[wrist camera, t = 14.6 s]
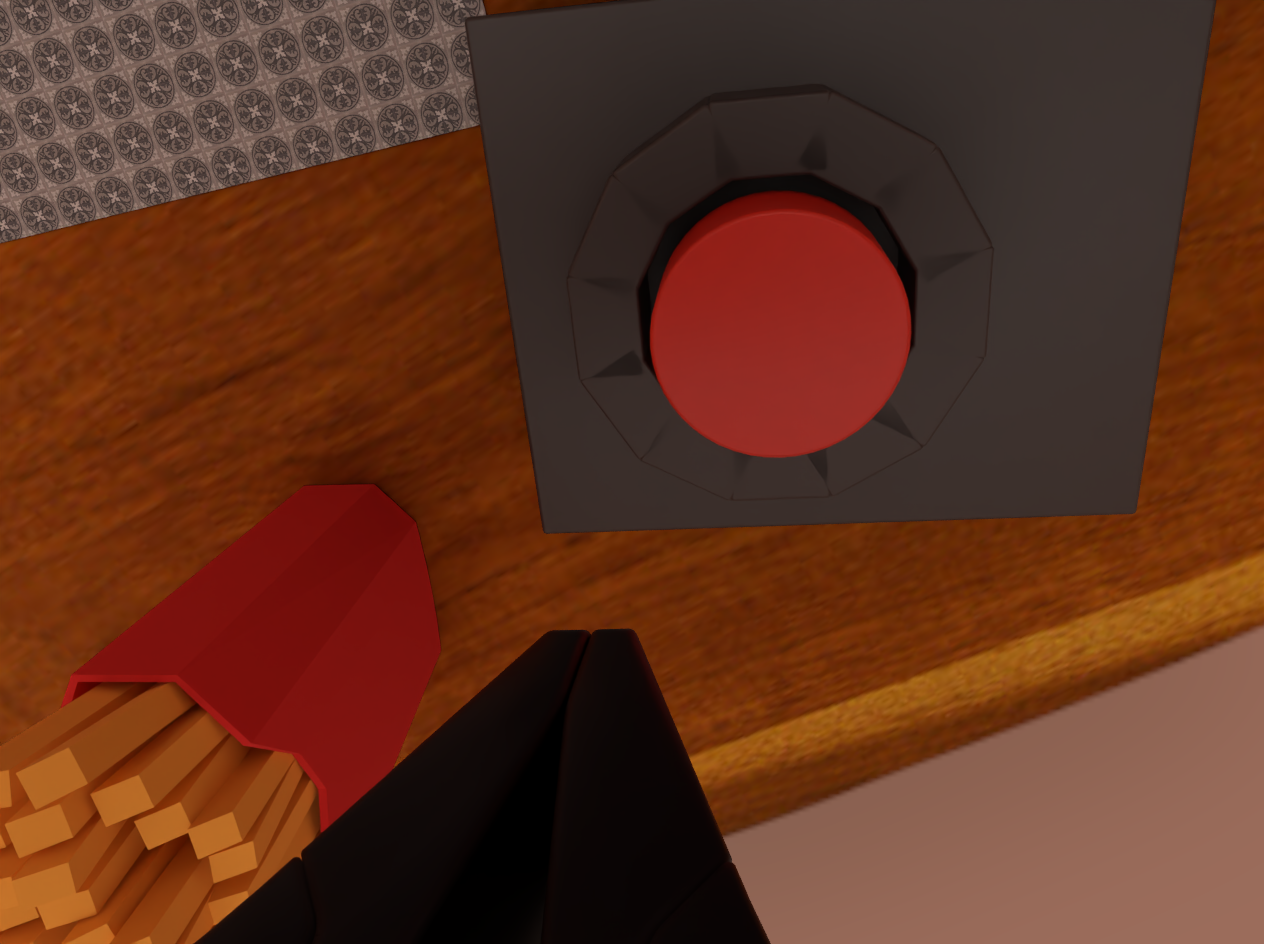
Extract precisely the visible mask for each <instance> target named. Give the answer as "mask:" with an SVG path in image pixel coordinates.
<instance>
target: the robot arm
mask: <svg viewBox="0 0 1264 944" xmlns="http://www.w3.org/2000/svg"><path fill="white" fill-rule="evenodd" d="M301 858H302V860H301ZM301 858H299V857H294V858H292V859H291V860H290V861H289V862H288V863H287V864H286V865H284V866H283V867H282V868H281V869H280V870H279V871H278V872H277V873H275V874H274V875H273V876H272V877H271V878H270V879H269V880H268V881H267V882H265V883H264V884H263V885H262V886H261V887H260V888H259V889H257V890H256V891H255V892H254V893H253V894H252V895H250V896H249V897H248V898H247V899H246V900H245V901H243V902H242V903H241V904H240V905H239V906H238V907H236V908H235V909H234V910H233V911H232V912H230V913H229V914H228V915H227V916H226V917H225V918H223V919H222V920H221V921H220V922H219V923H218V924H216V925H215V926H214V927H213V928H212V929H211V930H209V931H208V932H207V933H206V934H205V935H204V936H202V937H201V938H200V939H198V940H197V941H196V942H195V943H193V944H771V943H770V941H769V939H768V937H767V935H766V933H765V931H764V929H763V927H762V924H761V923H760V920H759V918H758V916H757V914H756V912H755V910H754V908H753V905H752V904H751V901H750V899H749V897H748V894H747V892H746V890H745V887H744V885H743V883H742V880H741V878H740V876H739V873H738V871H737V869H736V866H735V865H734V864H733V863H732V858H731V856H730V854H729V851H728V849H727V846H726V844H725V842H724V839H723V837H722V834H721V832H720V830H719V827H718V825H717V823H716V820H715V818H714V816H713V813H712V811H711V808H710V806H709V804H708V801H707V799H706V797H705V794H704V792H703V790H702V787H701V785H700V782H699V780H698V778H697V775H696V773H695V771H694V768H693V766H692V764H691V761H690V759H689V756H688V754H687V752H686V749H685V747H684V745H683V742H682V740H681V738H680V735H679V733H678V730H677V728H676V726H675V723H674V721H673V719H672V716H671V714H670V712H669V709H668V707H667V704H666V702H665V700H664V697H663V695H662V693H661V690H660V688H659V686H658V683H657V681H656V678H655V676H654V674H653V671H652V669H651V667H650V664H649V662H648V660H647V657H646V655H645V652H644V650H643V648H642V645H641V643H640V641H639V638H638V636H637V634H636V633H635V631H634V630H632V629H599V630H595V631H594V632H593V633H592V634H590V633H589V632H588V631H587V630H553V631H549V632H547V633H546V634H544V635H543V636H542V637H541V638H540V639H538V640H537V641H536V642H535V643H534V644H533V645H532V646H531V647H530V648H528V649H527V650H526V651H525V652H524V653H523V654H522V655H521V656H519V657H518V658H517V659H516V660H515V661H514V662H513V663H512V664H510V665H509V666H508V667H507V668H506V669H505V670H504V671H503V672H501V673H500V674H499V675H498V676H497V677H496V678H495V679H494V680H492V681H491V682H490V683H489V684H488V685H487V686H486V687H485V688H484V689H482V690H481V691H480V692H479V693H478V694H477V695H476V696H475V697H473V698H472V699H471V700H470V701H469V702H468V703H467V704H466V705H464V706H463V707H462V708H461V709H460V710H459V711H458V712H457V713H455V714H454V715H453V716H452V717H451V718H450V719H449V720H448V721H446V722H445V723H444V724H443V725H442V726H441V727H440V728H439V729H438V730H436V731H435V732H434V733H433V734H432V735H431V736H430V737H429V738H427V739H426V740H425V741H424V742H423V743H422V744H421V745H420V746H418V747H417V748H416V749H415V750H414V751H413V752H412V753H411V754H409V755H408V756H407V757H406V758H405V759H404V760H403V761H402V762H400V763H399V764H398V765H397V766H396V767H395V768H394V769H393V770H392V771H390V772H389V773H388V774H387V775H386V776H385V777H384V778H383V779H381V780H380V781H379V782H378V783H377V784H376V785H375V786H374V787H372V788H371V789H370V790H369V791H368V792H367V793H366V794H365V795H363V796H362V797H361V798H360V799H359V800H358V801H357V802H356V803H354V804H353V805H352V806H351V807H350V808H349V809H348V810H347V811H346V812H344V813H343V814H342V815H341V816H340V817H339V818H338V819H337V820H335V821H334V822H333V823H332V824H331V825H330V826H329V827H328V828H326V829H325V830H324V831H323V832H322V833H321V834H320V835H319V836H317V837H316V838H315V839H314V840H313V841H312V842H311V843H310V844H308V845H307V846H306V847H305V848H304V849H303V850H302V852H301Z"/></svg>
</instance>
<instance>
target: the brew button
mask: <svg viewBox="0 0 1264 944" xmlns="http://www.w3.org/2000/svg"><path fill="white" fill-rule="evenodd" d="M910 341H911V314H910V308H909V302H908V298H907V295H906V292H905V289H904V286H903V283H902V281H901V279H900V277H899V275H898V273H897V271H896V269H895V267H894V266H893V264H892V263H891V261H890V260H889V258H888V257H887V255H886V254H885V252H884V251H883V249H882V247H881V246H880V244H879V243H878V242H877V240H876V239H875V237H874V236H873V234H872V233H871V232H870V231H869V230H868V229H867V227H866V226H865V225H864V224H863V223H862V222H861V221H860V220H859V219H857V218H856V217H855V216H854V215H852V214H851V213H850V212H849V211H847V210H846V209H844V208H842V207H840V206H839V205H837V204H835V203H834V202H831V201H829V200H826V199H824V198H822V197H819V196H815V195H811V194H808V193H804V192H796V191H788V190H784V191H765V192H759V193H753V194H750V195H746V196H743V197H739V198H737V199H734V200H732V201H730V202H727V203H725V204H723V205H721V206H720V207H718V208H716V209H715V210H713V211H711V212H710V213H708V214H707V215H706V216H705V217H703V218H702V219H701V220H700V221H698V222H697V223H696V224H695V225H694V226H693V227H692V228H691V229H690V230H689V231H688V232H687V233H686V234H685V236H684V237H683V238H682V240H681V241H680V242H679V244H678V245H677V246H676V248H675V250H674V252H673V253H672V255H671V257H670V259H669V261H668V263H667V266H666V268H665V271H664V273H663V276H662V279H661V283H660V286H659V290H658V293H657V297H656V300H655V304H654V308H653V312H652V316H651V325H650V351H651V357H652V363H653V367H654V370H655V373H656V377H657V380H658V382H659V384H660V386H661V388H662V391H663V393H664V394H665V396H666V398H667V399H668V401H669V402H670V404H671V406H672V407H673V408H674V409H675V411H676V412H677V413H678V414H679V415H680V417H681V418H682V419H683V420H684V421H685V422H686V423H688V424H689V425H690V426H691V427H692V428H693V429H694V430H696V431H697V432H698V433H700V434H701V435H703V436H704V437H705V438H707V439H709V440H711V441H713V442H714V443H716V444H718V445H720V446H723V447H725V448H728V449H730V450H733V451H736V452H740V453H743V454H747V455H752V456H760V457H777V458H782V457H792V456H800V455H804V454H809V453H813V452H816V451H819V450H822V449H825V448H828V447H830V446H832V445H834V444H836V443H838V442H840V441H842V440H844V439H846V438H847V437H849V436H850V435H852V434H854V433H855V432H857V431H858V430H859V429H860V428H862V427H863V426H864V425H865V424H866V423H868V422H869V421H870V420H871V419H872V418H873V417H874V416H875V415H876V414H877V413H878V412H879V411H880V410H881V409H882V407H883V406H884V405H885V403H886V402H887V400H888V399H889V398H890V396H891V395H892V393H893V391H894V390H895V388H896V386H897V384H898V382H899V381H900V378H901V376H902V373H903V371H904V368H905V366H906V362H907V358H908V354H909V350H910Z"/></svg>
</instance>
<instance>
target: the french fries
mask: <svg viewBox="0 0 1264 944" xmlns="http://www.w3.org/2000/svg"><path fill="white" fill-rule="evenodd" d="M440 652H441V645H440V638H439V630H438V623H437V617H436V611H435V606H434V600H433V594H432V589H431V584H430V579H429V575H428V570H427V565H426V561H425V556H424V552H423V548H422V544H421V540H420V536H419V532H418V528H417V524H416V522H415V521H414V520H413V519H412V518H411V517H410V516H409V515H408V514H407V513H406V512H404V511H403V510H402V509H401V508H400V507H399V506H398V505H397V504H396V503H395V502H393V501H392V500H391V499H390V498H389V497H388V496H387V495H386V494H385V493H384V492H382V491H381V490H380V489H379V488H378V487H377V486H376V485H375V484H351V485H307V486H303V487H302V488H301V489H299V490H298V491H297V492H296V493H295V494H293V495H292V496H291V497H290V498H288V499H287V500H286V501H285V502H283V503H282V504H281V505H280V506H279V507H277V508H276V509H275V510H274V511H272V512H271V513H270V514H269V515H267V516H266V517H265V518H264V519H263V520H261V521H260V522H259V523H258V524H256V525H255V526H254V527H253V528H251V529H250V530H249V531H248V532H247V533H245V534H244V535H243V536H242V537H240V538H239V539H238V540H237V541H236V542H234V543H233V544H232V545H231V546H229V547H228V548H227V549H226V550H224V551H223V552H222V553H221V554H220V555H218V556H217V557H216V558H215V559H213V560H212V561H211V562H210V563H208V564H207V565H206V566H205V567H204V568H202V569H201V570H200V571H199V572H197V573H196V574H195V575H194V576H192V577H191V578H190V579H189V580H188V581H186V582H185V583H184V584H183V585H181V586H180V587H179V588H178V589H176V590H175V591H174V592H173V593H172V594H170V595H169V596H168V597H167V598H165V599H164V600H163V601H162V602H160V603H159V604H158V605H157V606H156V607H154V608H153V609H152V610H151V611H149V612H148V613H147V614H146V615H144V616H143V617H142V618H141V619H140V620H138V621H137V622H136V623H135V624H133V625H132V626H131V627H130V628H128V629H127V630H126V631H125V632H124V633H122V634H121V635H120V636H119V637H117V638H116V639H115V640H114V641H112V642H111V643H110V644H109V645H108V646H106V647H105V648H104V649H103V650H101V651H100V652H99V653H98V654H96V655H95V656H94V657H93V658H92V659H90V660H89V661H88V662H87V663H85V664H84V665H83V666H82V667H80V668H79V669H78V670H77V671H76V672H74V673H73V674H72V675H71V678H70V681H69V684H68V687H67V690H66V693H65V696H64V699H63V702H62V705H61V708H60V709H59V710H57V711H56V712H54V713H53V714H51V715H49V716H48V717H46V718H44V719H43V720H41V721H40V722H38V723H36V724H35V725H33V726H32V727H30V728H28V729H27V730H25V731H24V732H22V733H20V734H19V735H17V736H16V737H14V738H12V739H11V740H9V741H8V742H6V743H4V744H3V745H1V746H0V944H193V943H195V942H196V941H197V940H198V939H200V938H201V937H202V936H204V935H205V934H206V933H207V932H208V931H209V930H211V929H212V928H213V927H214V926H215V925H216V924H218V923H219V922H220V921H221V920H222V919H223V918H225V917H226V916H227V915H228V914H229V913H230V912H232V911H233V910H234V909H235V908H236V907H238V906H239V905H240V904H241V903H242V902H243V901H245V900H246V899H247V898H248V897H249V896H250V895H252V894H253V893H254V892H255V891H256V890H257V889H259V888H260V887H261V886H262V885H263V884H264V883H265V882H267V881H268V880H269V879H270V878H271V877H272V876H273V875H274V874H275V873H277V872H278V871H279V870H280V869H281V868H282V867H283V866H284V865H286V864H287V863H288V862H289V861H290V860H291V859H292V858H294V857H299V858H301V852H302V850H303V849H304V848H305V847H306V846H307V845H308V844H310V843H311V842H312V841H313V840H314V839H315V838H316V837H317V836H319V835H320V834H321V833H322V832H323V831H324V830H325V829H326V828H328V827H329V826H330V825H331V824H332V823H333V822H334V821H335V820H337V819H338V818H339V817H340V816H341V815H342V814H343V813H344V812H346V811H347V810H348V809H349V808H350V807H351V806H352V805H353V804H354V803H356V802H357V801H358V800H359V799H360V798H361V797H362V796H363V795H365V794H366V793H367V792H368V791H369V790H370V789H371V788H372V787H374V786H375V785H376V784H377V783H378V782H379V781H380V780H381V779H383V778H384V777H385V776H386V775H387V774H388V773H389V772H390V771H392V769H393V767H394V764H395V762H396V760H397V757H398V755H399V752H400V750H401V747H402V745H403V742H404V740H405V738H406V735H407V733H408V730H409V728H410V725H411V723H412V720H413V718H414V715H415V713H416V711H417V708H418V706H419V703H420V701H421V698H422V696H423V693H424V691H425V689H426V686H427V684H428V681H429V679H430V676H431V674H432V671H433V669H434V666H435V664H436V662H437V659H438V657H439V654H440ZM301 860H302V858H301Z"/></svg>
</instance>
